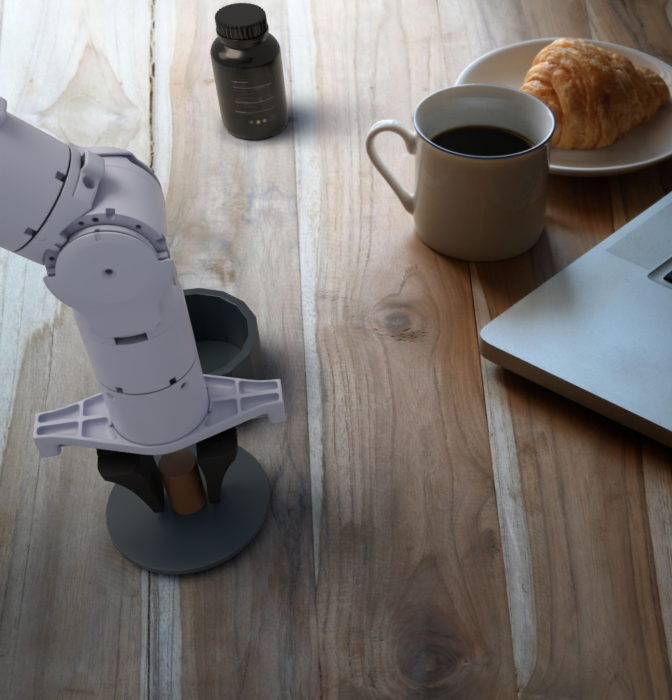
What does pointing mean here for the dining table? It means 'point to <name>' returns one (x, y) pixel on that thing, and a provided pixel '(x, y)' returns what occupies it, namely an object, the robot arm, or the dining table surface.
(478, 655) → the dining table surface
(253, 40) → the supplement bottle
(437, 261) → the dining table surface
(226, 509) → the lid
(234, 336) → the pot
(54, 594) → the dining table surface
